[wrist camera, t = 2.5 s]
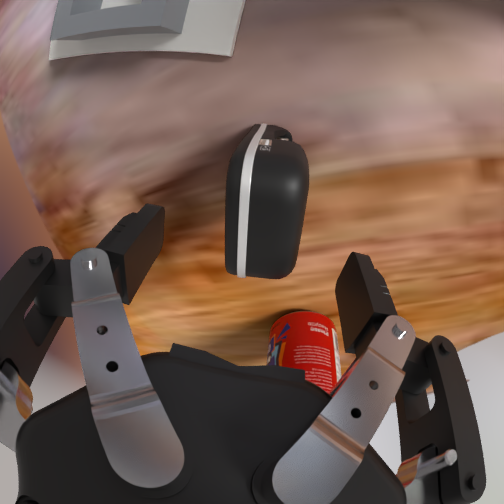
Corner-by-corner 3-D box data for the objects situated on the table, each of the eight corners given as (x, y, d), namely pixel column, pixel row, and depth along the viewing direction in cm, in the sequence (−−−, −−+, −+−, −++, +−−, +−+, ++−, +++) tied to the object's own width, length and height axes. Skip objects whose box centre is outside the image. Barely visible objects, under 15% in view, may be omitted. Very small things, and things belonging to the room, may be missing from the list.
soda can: (348, 327, 32) (362, 445, 19) (301, 354, 36) (298, 461, 23) (304, 294, 29) (306, 430, 17) (256, 328, 33) (240, 446, 21)
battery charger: (292, 204, 24) (295, 298, 15) (248, 200, 24) (223, 290, 15) (302, 125, 20) (320, 167, 11) (253, 120, 20) (224, 157, 11)
